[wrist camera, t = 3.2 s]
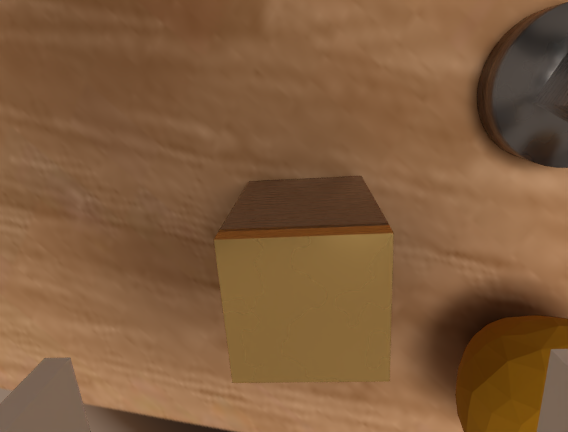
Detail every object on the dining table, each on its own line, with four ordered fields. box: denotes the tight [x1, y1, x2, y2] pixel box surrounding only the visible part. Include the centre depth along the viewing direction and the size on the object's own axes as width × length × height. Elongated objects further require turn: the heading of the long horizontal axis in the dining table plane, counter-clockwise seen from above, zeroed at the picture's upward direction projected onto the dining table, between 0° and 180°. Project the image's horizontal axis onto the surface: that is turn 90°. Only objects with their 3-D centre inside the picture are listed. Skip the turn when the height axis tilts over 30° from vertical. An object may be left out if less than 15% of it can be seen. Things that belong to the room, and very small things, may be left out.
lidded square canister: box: [214, 176, 394, 383], centre depth 18 cm, size 6×6×8 cm
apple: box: [455, 315, 568, 432], centre depth 19 cm, size 9×9×9 cm
